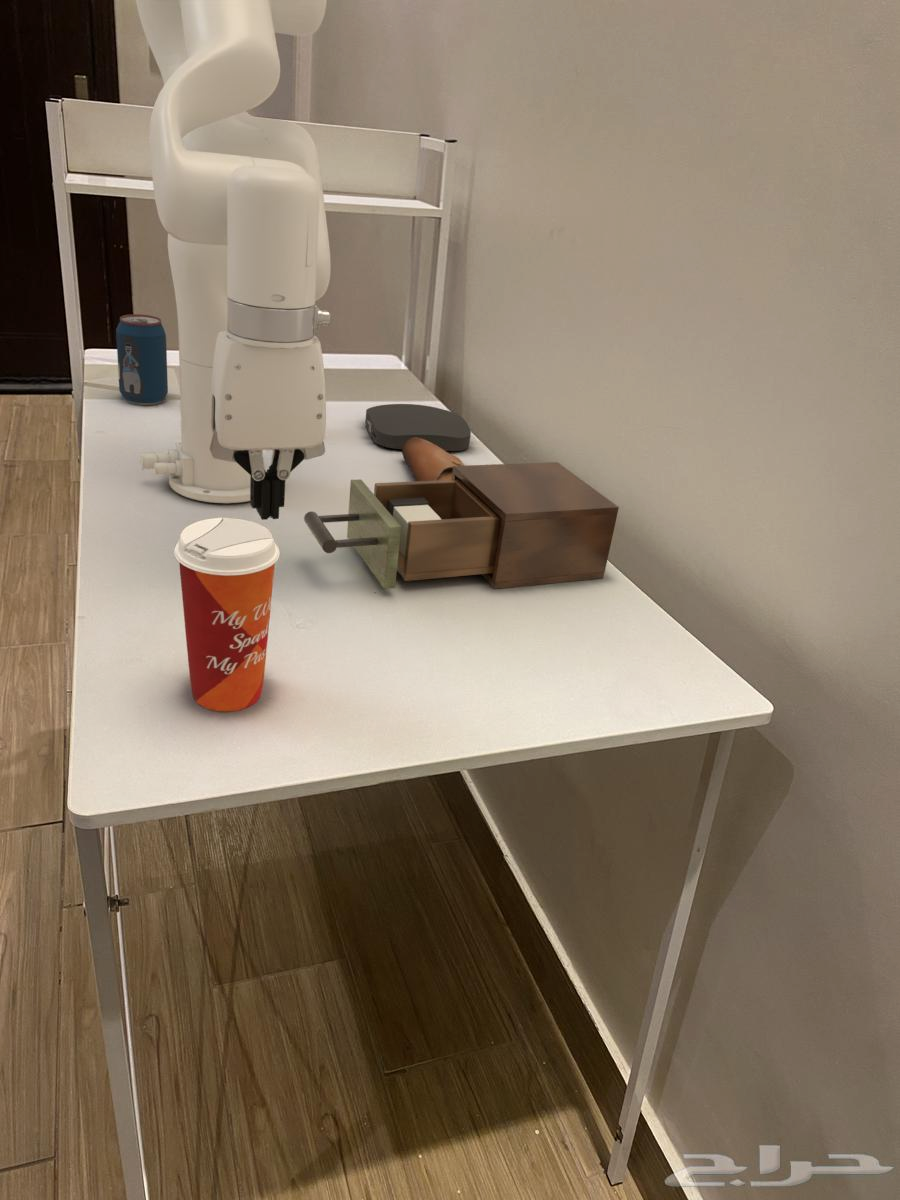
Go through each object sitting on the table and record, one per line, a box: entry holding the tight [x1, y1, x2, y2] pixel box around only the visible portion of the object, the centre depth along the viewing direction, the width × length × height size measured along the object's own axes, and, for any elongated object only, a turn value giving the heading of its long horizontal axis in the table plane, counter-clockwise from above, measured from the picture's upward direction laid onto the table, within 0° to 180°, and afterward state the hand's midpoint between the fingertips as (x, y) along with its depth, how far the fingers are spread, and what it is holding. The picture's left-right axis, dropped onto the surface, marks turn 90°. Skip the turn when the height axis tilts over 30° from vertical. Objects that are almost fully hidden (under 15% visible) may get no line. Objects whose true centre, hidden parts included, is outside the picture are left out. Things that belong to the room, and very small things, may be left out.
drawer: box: [303, 479, 501, 590], centre depth 96 cm, size 18×12×7 cm
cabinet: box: [452, 461, 620, 590], centre depth 102 cm, size 14×14×9 cm
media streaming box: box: [364, 403, 472, 452], centre depth 137 cm, size 15×15×3 cm
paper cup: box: [173, 517, 281, 712], centre depth 71 cm, size 8×8×14 cm
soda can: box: [115, 313, 169, 406], centre depth 135 cm, size 7×7×12 cm
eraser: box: [387, 497, 442, 558], centre depth 97 cm, size 8×4×4 cm, turn 23°
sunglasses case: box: [401, 437, 465, 481], centre depth 120 cm, size 18×7×7 cm
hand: (267, 513), depth 89 cm, fingers closed
